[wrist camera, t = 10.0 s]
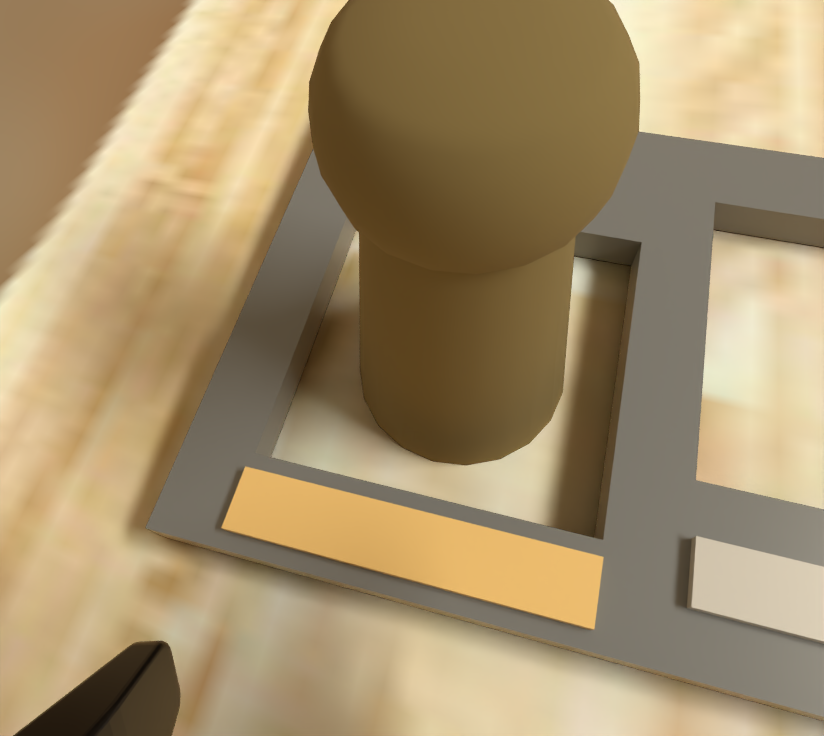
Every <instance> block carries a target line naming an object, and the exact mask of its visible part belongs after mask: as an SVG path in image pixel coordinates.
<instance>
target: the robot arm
mask: <svg viewBox="0 0 824 736" xmlns="http://www.w3.org/2000/svg"><path fill="white" fill-rule="evenodd" d="M179 706H180V687H179V683H178V678H177V674H176V670H175V665H174V661H173V657H172V652H171V649H170V646H169V645H168V643H166V642H164V641H144V642H136V643H134V644H132V645H130V646H129V647H127V648H126V649H125V650H124V651H122V652H121V653H120V654H118V655H117V656H116V657H114V658H113V659H112V660H111V661H109V662H108V663H107V664H105V665H104V666H103V667H102V668H100V669H99V670H98V671H96V672H95V673H94V674H92V675H91V676H90V677H89V678H87V679H86V680H85V681H83V682H82V683H81V684H80V685H78V686H77V687H76V688H74V689H73V690H72V691H70V692H69V693H68V694H67V695H65V696H64V697H63V698H61V699H60V700H59V701H57V702H56V703H55V704H54V705H52V706H51V707H50V708H48V709H47V710H46V711H45V712H43V713H42V714H41V715H39V716H38V717H37V718H35V719H34V720H33V721H32V722H30V723H29V724H28V725H26V726H25V727H24V728H22V729H21V730H20V731H19V732H17V733H16V734H15V735H13V736H172V733H173V729H174V726H175V722H176V718H177V715H178V711H179Z"/></svg>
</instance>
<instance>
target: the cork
mask: <svg viewBox="0 0 824 736" xmlns="http://www.w3.org/2000/svg"><path fill="white" fill-rule="evenodd" d="M308 113H309V120H310V128H311V135H312V143H313V149H314V153H315V156H316V160H317V163H318V167H319V170H320V174H321V176H322V178H323V179H324V181H325V183H326V184H327V186H328V188H329V189H330V191H331V192H332V194H333V196H334V197H335V199H336V201H337V202H338V204H339V206H340V207H341V209H342V210H343V212H344V213H345V215H346V216H347V218H348V219H349V221H350V222H351V224H352V225H353V227H354V228H355V229H356V230H357V231H358V232H359V287H360V374H361V380H362V387H363V394H364V399H365V401H366V403H367V405H368V407H369V409H370V411H371V412H372V414H373V416H374V418H375V420H376V422H377V424H378V425H379V426H380V427H381V428H382V429H383V430H384V431H385V432H386V433H387V434H388V435H389V436H390V437H392V438H393V439H394V440H395V441H396V442H397V443H398V444H399V445H400V446H401V447H403V448H405V449H407V450H409V451H412V452H414V453H416V454H418V455H420V456H422V457H425V458H427V459H429V460H431V461H436V462H444V463H452V464H460V465H470V464H476V463H481V462H487V461H492V460H498V459H501V458H503V457H505V456H507V455H509V454H510V453H512V452H514V451H516V450H518V449H520V448H522V447H523V446H525V445H527V444H529V443H530V442H531V441H532V440H533V439H534V438H535V437H536V436H537V435H538V433H539V432H540V431H541V430H542V429H543V428H544V427H545V426H546V425H547V424H548V423H549V422H550V421H551V419H552V416H553V414H554V411H555V409H556V407H557V404H558V402H559V400H560V397H561V395H562V393H563V381H564V369H565V357H566V345H567V333H568V321H569V309H570V297H571V285H572V273H573V261H574V249H575V237H576V235H577V234H578V233H580V232H581V231H582V230H583V229H584V228H585V227H586V226H587V225H588V224H589V223H590V222H591V221H592V220H593V219H594V218H595V217H596V216H597V214H598V213H599V212H600V211H601V209H602V208H603V207H604V206H605V204H606V203H607V202H608V200H609V199H610V198H611V197H612V195H613V192H614V190H615V188H616V186H617V184H618V181H619V179H620V177H621V175H622V173H623V170H624V168H625V166H626V164H627V161H628V159H629V156H630V154H631V151H632V148H633V146H634V143H635V140H636V138H637V135H638V132H639V113H640V73H639V61H638V58H637V56H636V53H635V51H634V48H633V45H632V43H631V40H630V37H629V35H628V33H627V31H626V29H625V27H624V25H623V23H622V21H621V19H620V17H619V15H618V13H617V11H616V9H615V7H614V5H613V4H612V3H611V2H610V1H609V0H349V1H348V2H347V3H346V4H345V6H344V7H343V8H342V9H341V10H340V12H339V13H338V14H337V15H336V17H335V18H334V19H333V20H332V22H331V24H330V26H329V28H328V31H327V33H326V35H325V37H324V40H323V42H322V44H321V46H320V49H319V52H318V56H317V59H316V62H315V65H314V68H313V72H312V75H311V78H310V81H309V105H308Z"/></svg>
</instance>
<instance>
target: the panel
mask: <svg viewBox="0 0 824 736" xmlns="http://www.w3.org/2000/svg"><path fill="white" fill-rule="evenodd" d="M713 229H715V230H721V231H727V232H733V233H739V234H745V235H751V236H757V237H764V238H770V239H776V240H782V241H788V242H794V243H800V244H806V245H812V246H818V247H824V158H820V157H813V156H806V155H799V154H792V153H785V152H778V151H771V150H764V149H757V148H750V147H743V146H736V145H729V144H722V143H715V142H708V141H701V140H694V139H687V138H680V137H673V136H666V135H659V134H652V133H645V132H638V135H637V138H636V140H635V143H634V146H633V148H632V151H631V154H630V156H629V159H628V161H627V164H626V166H625V168H624V170H623V173H622V175H621V177H620V179H619V181H618V184H617V186H616V188H615V190H614V192H613V195H612V197H611V198H610V199H609V200H608V202H607V203H606V204H605V206H604V207H603V208H602V209H601V211H600V212H599V213H598V214H597V216H596V217H595V218H594V219H593V220H592V221H591V222H590V223H589V224H588V225H587V226H586V227H585V228H584V229H583V230H582V231H581V232H580V233H578V234H577V235H576V237H575V249H574V256H579V257H585V258H590V259H596V260H601V261H607V262H613V263H618V264H624V265H630V266H631V271H630V278H629V286H628V293H627V300H626V308H625V315H624V322H623V330H622V337H621V344H620V352H619V359H618V366H617V374H616V381H615V389H614V396H613V403H612V411H611V418H610V425H609V433H608V440H607V447H606V455H605V462H604V469H603V477H602V484H601V492H600V499H599V506H598V514H597V521H596V528H595V536H594V538H593V537H589V536H585V535H581V534H577V533H573V532H569V531H565V530H561V529H557V528H553V527H549V526H544V525H540V524H536V523H532V522H528V521H524V520H520V519H516V518H512V517H508V516H504V515H500V514H496V513H492V512H488V511H484V510H480V509H476V508H472V507H468V506H464V505H460V504H456V503H452V502H448V501H444V500H440V499H436V498H432V497H428V496H424V495H420V494H416V493H412V492H408V491H404V490H400V489H396V488H392V487H388V486H384V485H380V484H376V483H371V482H367V481H363V480H359V479H355V478H351V477H347V476H343V475H339V474H335V473H331V472H327V471H323V470H319V469H315V468H311V467H307V466H303V465H299V464H295V463H291V462H287V461H283V460H279V459H275V458H271V455H272V453H273V450H274V447H275V445H276V442H277V439H278V437H279V434H280V432H281V429H282V426H283V424H284V421H285V418H286V416H287V413H288V410H289V408H290V405H291V402H292V400H293V397H294V394H295V392H296V389H297V386H298V384H299V381H300V378H301V376H302V373H303V370H304V368H305V365H306V362H307V360H308V357H309V354H310V352H311V349H312V346H313V344H314V341H315V338H316V336H317V333H318V330H319V328H320V325H321V322H322V320H323V317H324V314H325V312H326V309H327V306H328V304H329V301H330V298H331V296H332V293H333V290H334V288H335V285H336V282H337V280H338V277H339V274H340V272H341V269H342V266H343V264H344V261H345V258H346V256H347V253H348V250H349V248H350V245H351V242H352V240H353V237H354V234H355V232H356V229H355V228H354V227H353V225H352V224H351V222H350V221H349V219H348V218H347V216H346V215H345V213H344V212H343V210H342V209H341V207H340V206H339V204H338V202H337V201H336V199H335V197H334V196H333V194H332V192H331V191H330V189H329V188H328V186H327V184H326V183H325V181H324V179H323V178H322V176H321V174H320V170H319V167H318V163H317V160H316V156H315V153H314V149H313V150H312V153H311V155H310V157H309V159H308V162H307V164H306V166H305V169H304V171H303V173H302V175H301V178H300V180H299V182H298V184H297V187H296V189H295V191H294V193H293V196H292V198H291V200H290V202H289V205H288V207H287V209H286V211H285V214H284V216H283V218H282V220H281V223H280V225H279V227H278V230H277V232H276V234H275V236H274V239H273V241H272V243H271V245H270V248H269V250H268V252H267V254H266V257H265V259H264V261H263V263H262V266H261V268H260V270H259V272H258V275H257V277H256V279H255V281H254V284H253V286H252V288H251V291H250V293H249V295H248V297H247V300H246V302H245V304H244V306H243V309H242V311H241V313H240V315H239V318H238V320H237V322H236V324H235V327H234V329H233V331H232V333H231V336H230V338H229V340H228V342H227V345H226V347H225V349H224V351H223V354H222V356H221V358H220V361H219V363H218V365H217V367H216V370H215V372H214V374H213V376H212V379H211V381H210V383H209V385H208V388H207V390H206V392H205V394H204V397H203V399H202V401H201V403H200V406H199V408H198V410H197V412H196V415H195V417H194V419H193V422H192V424H191V426H190V428H189V431H188V433H187V435H186V437H185V440H184V442H183V444H182V446H181V449H180V451H179V453H178V455H177V458H176V460H175V462H174V464H173V467H172V469H171V471H170V473H169V476H168V478H167V480H166V483H165V485H164V487H163V489H162V492H161V494H160V496H159V498H158V501H157V503H156V505H155V507H154V510H153V512H152V514H151V516H150V519H149V521H148V523H147V525H146V529H148V530H150V531H153V532H155V533H157V534H159V535H161V536H164V537H166V538H170V539H173V540H177V541H180V542H184V543H188V544H191V545H195V546H198V547H202V548H205V549H209V550H213V551H216V552H220V553H223V554H227V555H231V556H234V557H238V558H241V559H245V560H248V561H252V562H256V563H259V564H263V565H266V566H270V567H273V568H277V569H281V570H284V571H288V572H291V573H295V574H299V575H302V576H306V577H309V578H313V579H316V580H320V581H324V582H327V583H331V584H334V585H338V586H342V587H345V588H349V589H352V590H356V591H359V592H363V593H367V594H370V595H374V596H377V597H381V598H384V599H388V600H392V601H395V602H399V603H402V604H406V605H410V606H413V607H417V608H420V609H424V610H427V611H431V612H435V613H438V614H442V615H445V616H449V617H453V618H456V619H460V620H463V621H467V622H470V623H474V624H478V625H481V626H485V627H488V628H492V629H495V630H499V631H503V632H506V633H510V634H513V635H517V636H521V637H524V638H528V639H531V640H535V641H538V642H542V643H546V644H549V645H553V646H556V647H560V648H564V649H567V650H571V651H574V652H578V653H581V654H585V655H589V656H592V657H596V658H599V659H603V660H606V661H610V662H614V663H617V664H621V665H624V666H628V667H632V668H635V669H639V670H642V671H646V672H649V673H653V674H657V675H660V676H664V677H667V678H671V679H675V680H678V681H682V682H685V683H689V684H692V685H696V686H700V687H703V688H707V689H710V690H714V691H718V692H721V693H725V694H728V695H732V696H735V697H739V698H743V699H746V700H750V701H753V702H757V703H760V704H764V705H768V706H771V707H775V708H778V709H782V710H786V711H789V712H793V713H796V714H800V715H803V716H807V717H811V718H814V719H818V720H821V721H824V509H819V508H815V507H810V506H806V505H802V504H797V503H793V502H789V501H784V500H780V499H775V498H771V497H767V496H762V495H758V494H753V493H749V492H745V491H740V490H736V489H731V488H727V487H723V486H718V485H714V484H710V483H705V482H701V481H696V470H697V456H698V441H699V427H700V413H701V398H702V384H703V370H704V355H705V341H706V327H707V313H708V298H709V284H710V270H711V255H712V241H713Z"/></svg>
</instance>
